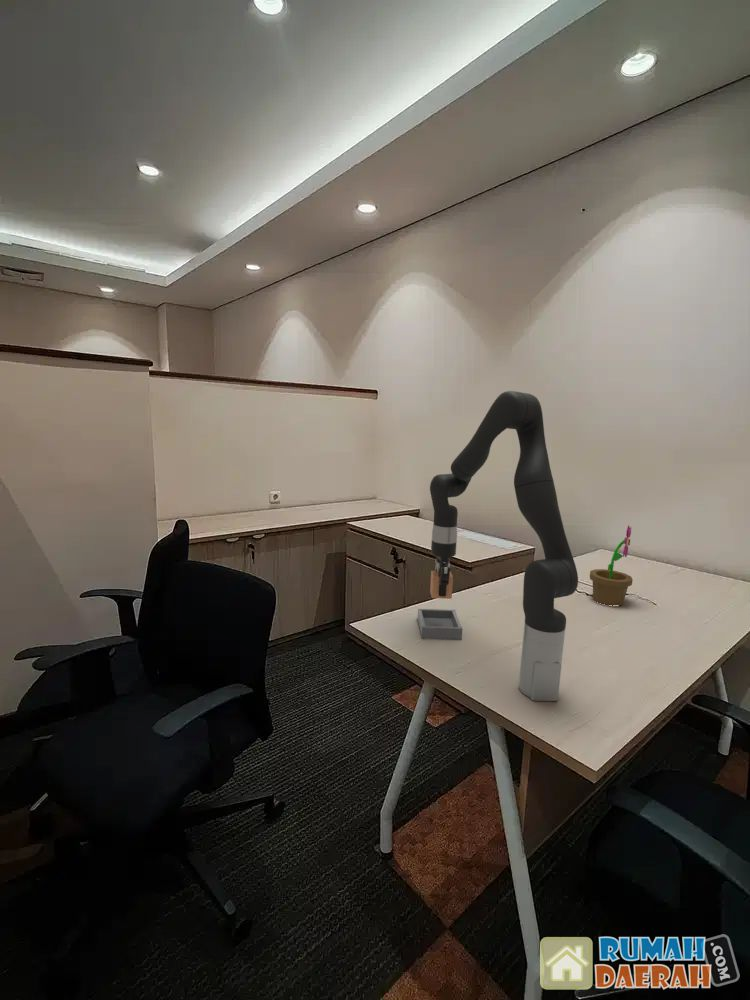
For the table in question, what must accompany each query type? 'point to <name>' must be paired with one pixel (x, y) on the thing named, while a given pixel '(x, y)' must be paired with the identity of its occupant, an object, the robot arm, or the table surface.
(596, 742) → the table surface
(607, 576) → the flowerpot
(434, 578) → the terracotta cube
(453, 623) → the chassis bay
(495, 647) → the table surface
